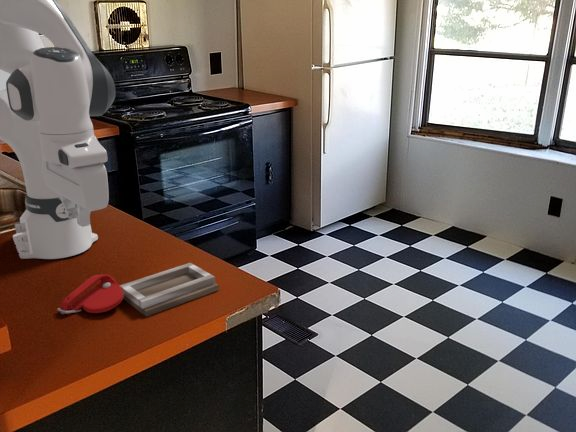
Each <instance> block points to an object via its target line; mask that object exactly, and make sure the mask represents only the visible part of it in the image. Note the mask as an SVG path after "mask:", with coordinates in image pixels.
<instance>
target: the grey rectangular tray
mask: <svg viewBox="0 0 576 432" xmlns="http://www.w3.org/2000/svg"><path fill="white" fill-rule="evenodd" d="M118 285H119V286H120V287H121V289H122V291H123V300H124V301H125V302H127V304H128V305H130V306H131V307H133V308H134V309H135V310H137V311H138V312H140V313H141V314H142V315H143V316H145V317H146V318H147V317H149V316H153V315H155V314H159V313H160V312H163V311H166V310H170V309H171V308H174V307H177V306H179V305H182V304H184V303H188V302H190V301H194V300H196V299H198V298H201V297H204V296H206V295H210V294H212V293H215V292H217V291H220V288H219V286H220V284H219V283H216V276H214V275H213V274H211V273H209V272H207V271H206V270H204V269H203V268H201V267H200V266H197V265H195V264H193V263H192V262H188V263H185V264H182V265H178V266H175V267H173V268H169V269H166V270H163V271H159V272H157V273H154V274H152V275H148V276H144V277H142V278H139V279H136V280H133V281H129V282H126V283H123V284H118Z"/></svg>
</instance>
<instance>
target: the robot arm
mask: <svg viewBox="0 0 576 432" xmlns="http://www.w3.org/2000/svg"><path fill="white" fill-rule="evenodd" d="M80 33H81V32H79V30H78V29H77V28H76V26H75V24H74V23H73V21H72V19H71V18H70V17H69V15H68V14H67V13H66V11H65V10H64V8H63V6H62V5H61V4H60V2H59V1H58V0H0V70H1V71H3V72H5V73H8V74H10V75H9V77H8V78H7V80H6V82H5V87H6V88H5V89H2V90H0V140H1V141H2V142H4V143H6V144H7V145H8V146H9V147H10V148H11V149H12V150H13V152H14V153H15V155H16V157H17V159H18V160H19V163H20V166H21V170H22V174H23V179H24V185H25V189H26V194H25V199H24V204H25V210H24V212H23V213H22V215H21V216H20V217H19V222H20V223H15V224H14V229H15V234H13V235H12V240H13V243H14V246H15V245H16V246H15V248H16V251H17V253H19V254H18V257H19V258H20V259H25V260H26V259H39V260H40V259H42V260H58V259H64V258H68V257H72V256H76V255H80V254H81V253H84V252H86V251H87V250H88V249H90V248H91V246H92V244H93V243H94V242H96V241H98V239H99V236H98V234H97V233H94V232H92V226H91V217H90V216H91V212H93V211H99V210H102V209H105V208H107V206H108V205H109V200H110V198H109V195H110V194H109V193H110V192H109V182H108V173H107V171H108V170H107V167H106V166H105V164H104V163H106V162H108V153H107V152H108V151H107V149H105V148H104V146H103V145H101V143H100V142H99V139H98V138H97V137H96V135H95V132H94V125H93V122H92V119H91V118H90V117H100V116H103V115H105V113H106V112H108V110H109V109H110V108H111V106H112V105H113V103H114V102H115V98H116V94H117V93H116V85H115V82H114V79H113V77H112V75H111V73H110V72H109V70H108V69H107V68H106V67H105V66H104V64H102V62H101V61H100V60H99V59H98V58H97V57H96V55H95V54H94V53H93V51H92V50H91V49H90V47H89V46H88V44H87V43H86V41H85V39H84V38H83V36H82V35H81V34H80ZM40 35H41V36H44V37H45V38H47V40H49V41H50V42H51V43H52V45H53V46H52V47H51V46H48V47H47V46H46V47H45V45H44V43H43V41H42V37H41V36H40Z"/></svg>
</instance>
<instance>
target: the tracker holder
mask: <svg viewBox="0 0 576 432" xmlns="http://www.w3.org/2000/svg"><path fill="white" fill-rule="evenodd" d="M98 281H100V282H99V283H98V284H96V283H97V282H98ZM95 284H96V286H94V287H93V285H95ZM119 285H120V284H118V283H117V281H116V280H115V278H114V277H113V276H111V275H110V274H106V273H103V274H95V275H92V276H90V277H89V278H87V279H86V280H85V281H84V282H82V283H81V284H80V285H79V286H78V287H77V288H75V289H74V290H73V291H72V292H71V293H69V294H68V295H67V296H66V297H65V298H64V299H63V300H62V302H60V305H59V306H60V307H58V308H57V311H59V312H60V314H62V315H67V316H70V315H73V314H74V313H75V314H76V313H79V312H82V311H83V310H84V311H85V312H86V313H89V314H99V313H104V312H105V313H106V312H108V311H111V310H112V309H115V308H116V307H118V305H119V304H121V303H122V301H123V300H124V299H123V291H122V289H121V287H120V286H119ZM91 287H93V288H92V289H91V290H89V291H88V292H86V291H87V290H88V289H90V288H91ZM85 292H86V293H85ZM84 293H85V294H84ZM82 294H83V295H82Z"/></svg>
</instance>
